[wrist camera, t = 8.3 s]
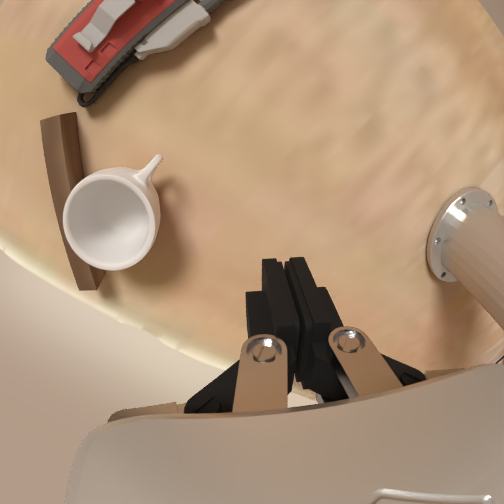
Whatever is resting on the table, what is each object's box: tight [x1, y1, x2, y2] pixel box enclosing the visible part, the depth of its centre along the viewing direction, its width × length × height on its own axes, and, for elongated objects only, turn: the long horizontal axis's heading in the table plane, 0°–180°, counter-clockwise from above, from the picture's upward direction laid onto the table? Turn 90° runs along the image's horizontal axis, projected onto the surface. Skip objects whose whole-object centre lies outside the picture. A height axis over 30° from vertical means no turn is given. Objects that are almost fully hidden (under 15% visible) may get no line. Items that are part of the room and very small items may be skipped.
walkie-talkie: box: [45, 0, 225, 107], centre depth 15 cm, size 9×4×20 cm
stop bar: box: [40, 112, 106, 291], centre depth 23 cm, size 2×16×3 cm, turn 1°
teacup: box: [63, 154, 163, 271], centre depth 22 cm, size 10×8×5 cm
